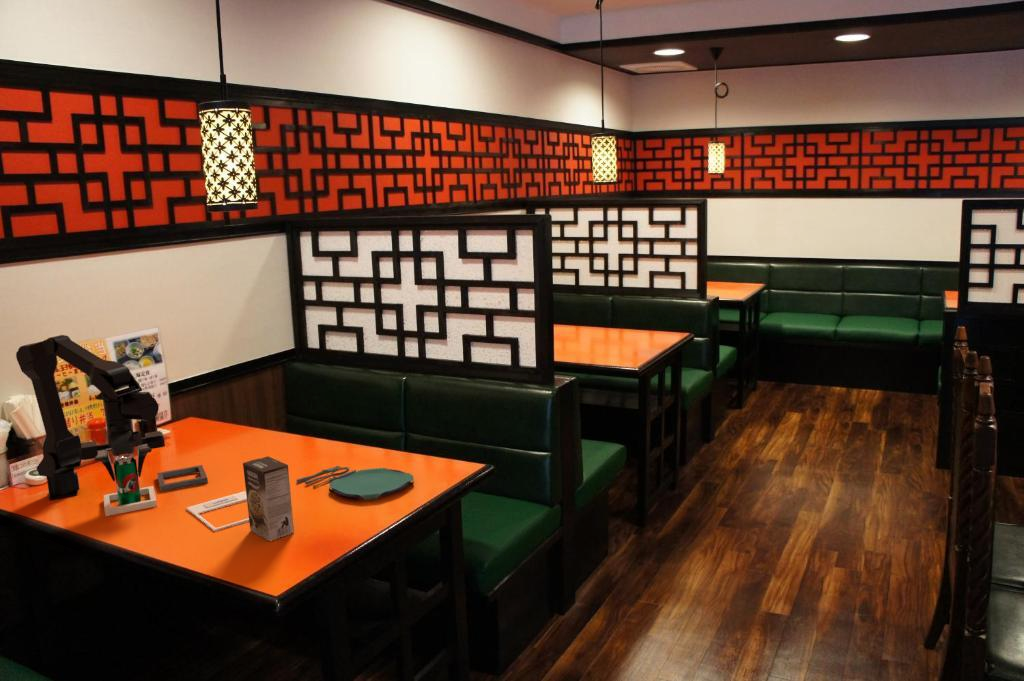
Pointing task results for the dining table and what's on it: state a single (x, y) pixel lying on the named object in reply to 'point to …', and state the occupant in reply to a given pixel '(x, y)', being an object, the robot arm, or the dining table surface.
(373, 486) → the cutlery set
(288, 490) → the coffee box
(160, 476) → the back socket
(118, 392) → the robot arm
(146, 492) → the front socket
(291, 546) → the dining table surface
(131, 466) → the soda can
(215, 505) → the photo frame
